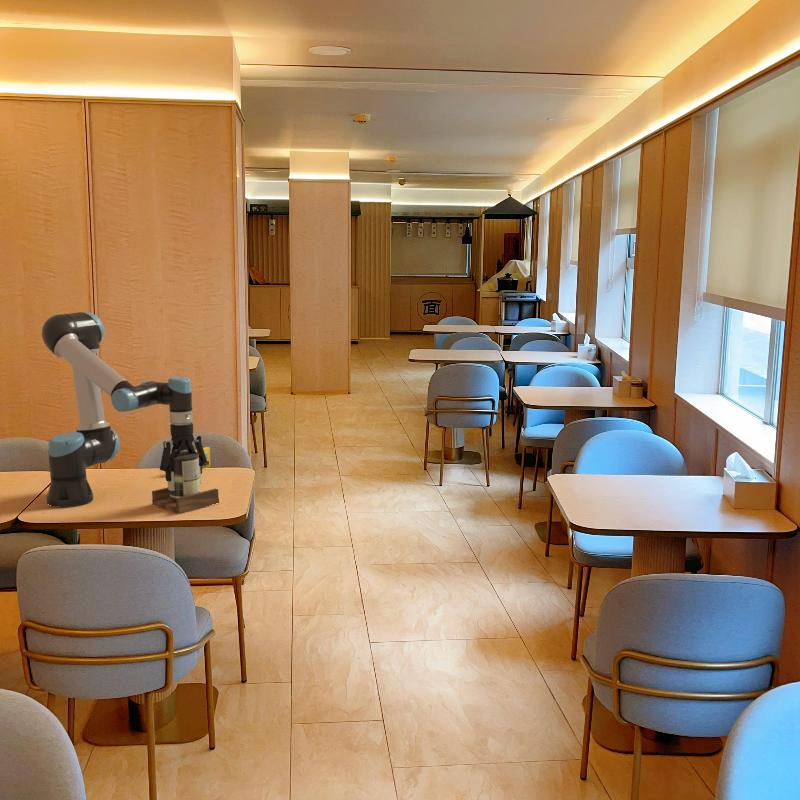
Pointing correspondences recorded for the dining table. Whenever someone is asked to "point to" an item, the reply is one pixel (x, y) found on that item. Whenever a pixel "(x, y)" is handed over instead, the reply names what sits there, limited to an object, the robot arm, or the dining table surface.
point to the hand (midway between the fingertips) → (184, 486)
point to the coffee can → (185, 474)
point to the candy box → (207, 454)
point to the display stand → (184, 500)
